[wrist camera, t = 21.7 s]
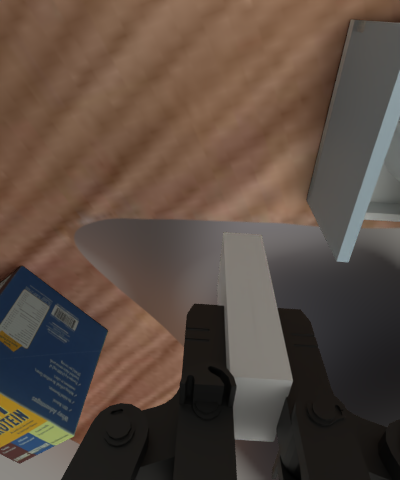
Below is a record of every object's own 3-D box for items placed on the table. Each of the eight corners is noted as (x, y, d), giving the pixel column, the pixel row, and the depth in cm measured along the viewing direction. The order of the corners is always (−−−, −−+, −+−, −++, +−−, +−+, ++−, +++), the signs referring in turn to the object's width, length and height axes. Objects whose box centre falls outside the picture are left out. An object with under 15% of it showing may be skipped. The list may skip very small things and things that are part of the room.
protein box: (64, 359, 56) (20, 465, 43) (-23, 300, 50) (-107, 404, 37) (110, 330, 52) (76, 437, 39) (21, 263, 46) (-54, 363, 33)
